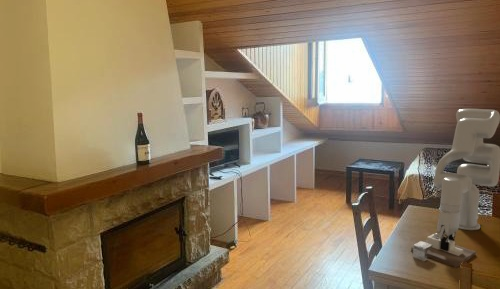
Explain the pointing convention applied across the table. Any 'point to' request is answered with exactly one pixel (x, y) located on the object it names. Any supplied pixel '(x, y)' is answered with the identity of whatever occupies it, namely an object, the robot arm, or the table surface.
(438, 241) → the link
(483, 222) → the table surface
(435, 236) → the cylinder
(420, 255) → the block
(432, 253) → the board
